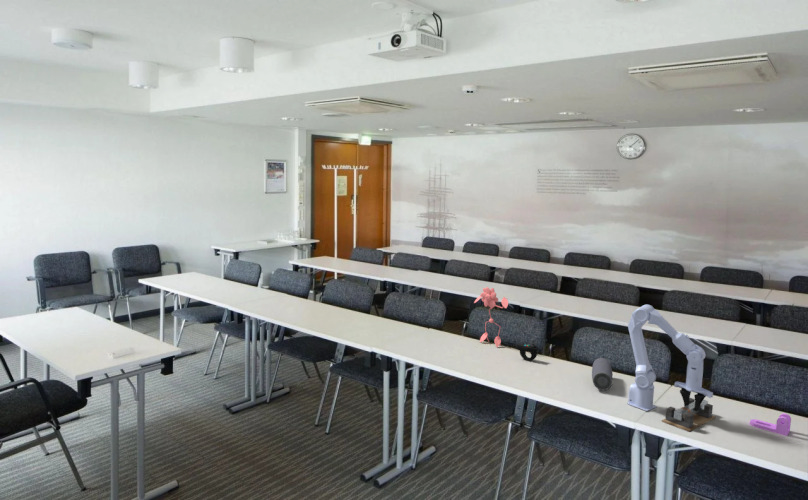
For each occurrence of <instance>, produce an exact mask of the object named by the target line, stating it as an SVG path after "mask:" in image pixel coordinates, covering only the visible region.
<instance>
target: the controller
mask: <svg viewBox="0 0 808 500" xmlns="http://www.w3.org/2000/svg"><path fill="white" fill-rule="evenodd" d="M515 349H517V350H518V351H519V355H520V356H521V358H522V359H523V360H525V361H530V362H531V361H533V360H535V359H536V358H537V356H538V354H539V347H538V346H536V342H531V343H530V344H524V343H516V346H515ZM526 352H529V353H530V357H529V356H528V355H527V353H526Z"/></svg>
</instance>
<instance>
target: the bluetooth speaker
mask: <svg viewBox="0 0 808 500" xmlns="http://www.w3.org/2000/svg"><path fill="white" fill-rule="evenodd" d="M591 366H592V367H591V368H592V369H591V379H592V380H591V381H592V383H593V386H594V387H595V388H597V390H601V391H607V390H608V389H610V388H611V387H612V385H613V374H614V373H613V369H612V365H611V363H610V362H609V360H607V359H606V358H604V357H599V358H597V359H595V360H594V362H593V363H592V365H591Z"/></svg>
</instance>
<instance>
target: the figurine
mask: <svg viewBox="0 0 808 500" xmlns="http://www.w3.org/2000/svg"><path fill="white" fill-rule="evenodd" d="M482 291H483V292H481V293H480V295H479V296H477V298H476V299H475V300H474V302H473V304H476V303H477V302H479V300H481V301H482V302H483V306H484V307H486V308H487V307H489V309H488V312H489V313H488V314H489V316H490V317H489V320H488V321H485V323H484V324H485V325H484V326H485V327H484V329H485V330H484V331H485V332H484V333H482V335H481V336H480V337H479V342H480V343H483V342H484V341H485V340H487V342H488V343H489V342H490V340H489V337H488V334H489V333H488V332H487V323H488V322H489V323H490V324H492V323H494V324H495V325H496V326H498V327H500V325H499V324H498V323H496V322H494V318H493V317H492V316H491V311H490V310H492V309H493V308H494V307H497V308H500V309H507V308H508V306H509V300H508V298H507V297H506V296H503V298H502V299H501V302H500V303H501V305H502V306H501V305H497V304H496V303H498V302H499V298H498V297H497V293H496V292H495V288H493V287H492V288H490V287H488V286H487V287H483V288H482ZM500 332H501V328H499V330H498V335H497V336H495V338H494V344H495V347H496V348H498V347H499V346H500V347H501V346H502V344H501V342H502V340H501V337H500V336H499V335H500Z"/></svg>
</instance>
